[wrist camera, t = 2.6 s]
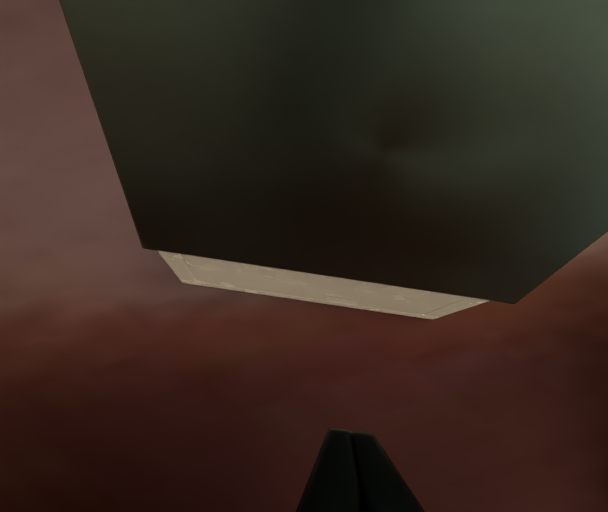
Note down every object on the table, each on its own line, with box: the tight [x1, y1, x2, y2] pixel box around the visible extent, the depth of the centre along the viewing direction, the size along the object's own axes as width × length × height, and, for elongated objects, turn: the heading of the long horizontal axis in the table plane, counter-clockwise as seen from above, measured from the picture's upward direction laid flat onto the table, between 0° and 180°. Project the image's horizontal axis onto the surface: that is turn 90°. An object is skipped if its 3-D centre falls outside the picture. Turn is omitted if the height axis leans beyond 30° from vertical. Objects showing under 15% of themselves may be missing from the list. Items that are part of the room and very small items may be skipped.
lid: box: [59, 0, 608, 304], centre depth 10 cm, size 11×12×1 cm
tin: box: [158, 251, 490, 319], centre depth 20 cm, size 11×12×7 cm
